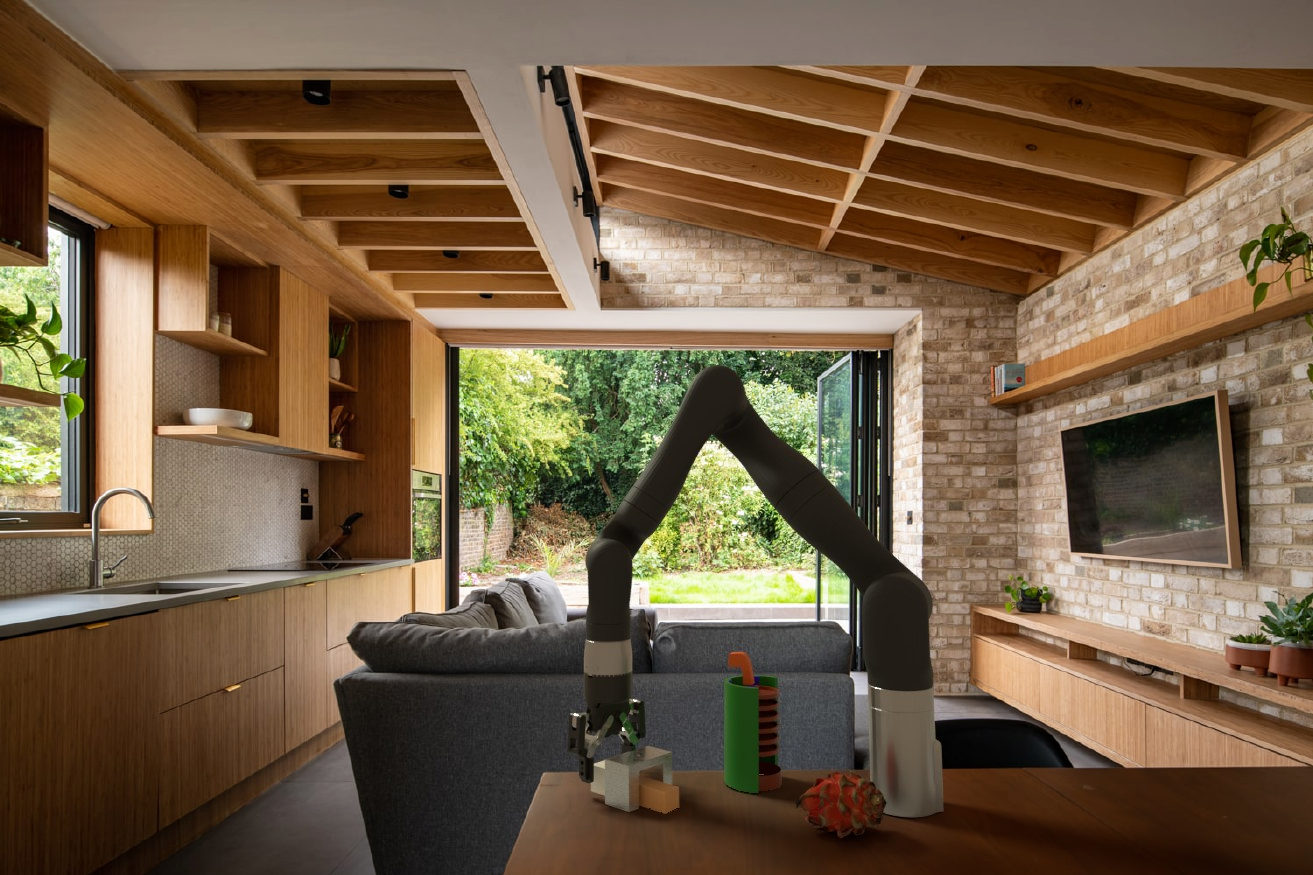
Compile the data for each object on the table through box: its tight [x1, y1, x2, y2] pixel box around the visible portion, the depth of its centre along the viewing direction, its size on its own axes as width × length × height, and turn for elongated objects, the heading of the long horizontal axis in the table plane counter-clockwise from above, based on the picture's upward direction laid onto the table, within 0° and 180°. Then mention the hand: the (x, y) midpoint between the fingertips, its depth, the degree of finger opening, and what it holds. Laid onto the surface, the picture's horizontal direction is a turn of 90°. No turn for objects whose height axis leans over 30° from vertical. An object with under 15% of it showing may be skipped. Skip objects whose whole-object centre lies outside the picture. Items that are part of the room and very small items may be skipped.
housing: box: [604, 745, 673, 813], centre depth 127 cm, size 5×9×6 cm, turn 137°
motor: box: [723, 651, 783, 794], centre depth 134 cm, size 10×9×20 cm
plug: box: [590, 759, 680, 815], centre depth 127 cm, size 15×4×4 cm, turn 47°
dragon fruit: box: [794, 770, 887, 839], centre depth 114 cm, size 8×8×12 cm
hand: (607, 775), depth 131 cm, fingers open, 8 cm apart
